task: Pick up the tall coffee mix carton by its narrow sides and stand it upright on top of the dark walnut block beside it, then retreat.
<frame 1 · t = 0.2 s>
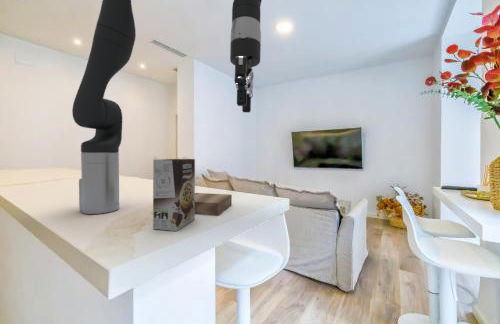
hand: (244, 109, 56), 29 cm above the table, fingers open, 8 cm apart
coffee box: (175, 225, 54), on the table
walnut block: (205, 209, 70), on the table
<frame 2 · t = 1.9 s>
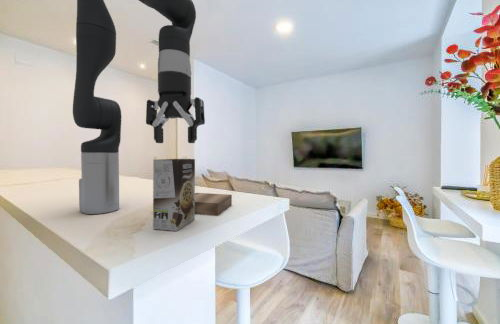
hand: (175, 143, 53), 20 cm above the table, fingers open, 8 cm apart
nothing on the table moved.
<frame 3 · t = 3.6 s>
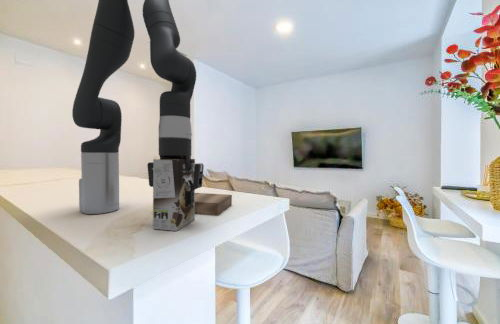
hand: (175, 205, 54), 5 cm above the table, fingers closed on coffee box, 6 cm apart
coffee box: (175, 225, 54), on the table, touching gripper
everything else where it was.
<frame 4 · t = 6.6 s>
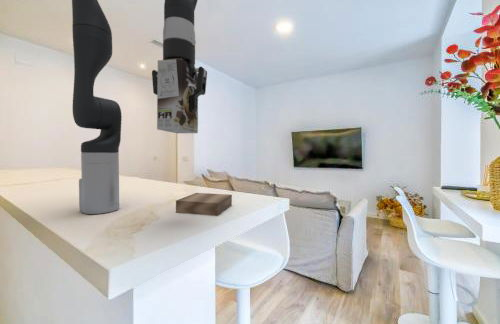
hand: (179, 112, 55), 28 cm above the table, fingers closed on coffee box, 6 cm apart
coffee box: (178, 132, 55), point 23 cm above the table, touching gripper
everything else where it was.
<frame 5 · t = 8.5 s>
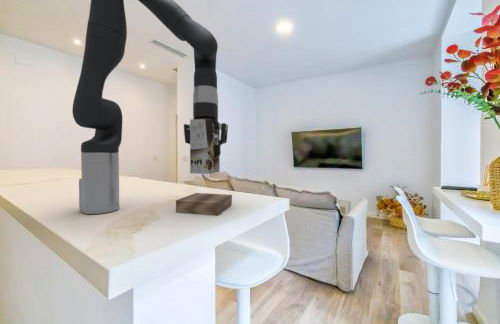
hand: (205, 157, 69), 16 cm above the table, fingers closed on coffee box, 6 cm apart
coffee box: (205, 173, 69), point 11 cm above the table, touching gripper
everything else where it was.
when the fingers open (10 cm above the table, at t = 9.9 s): coffee box drops 2 cm, resting on walnut block.
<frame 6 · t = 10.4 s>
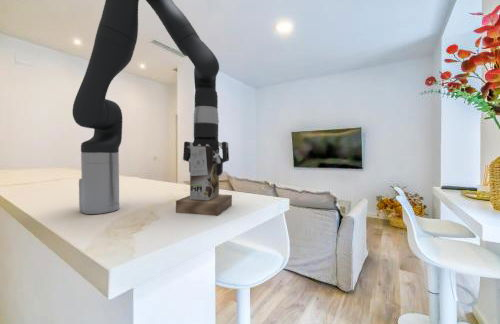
hand: (205, 175, 69), 11 cm above the table, fingers open, 8 cm apart
coffee box: (205, 198, 70), point 3 cm above the table, touching walnut block
walnut block: (205, 210, 70), on the table, touching coffee box
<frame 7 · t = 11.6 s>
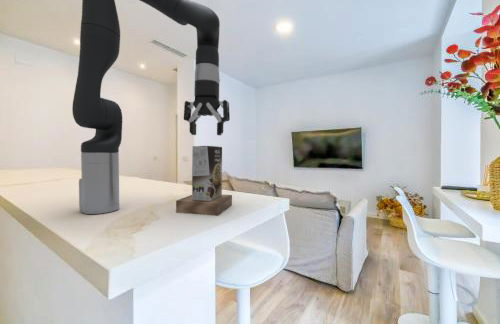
hand: (206, 135, 69), 23 cm above the table, fingers open, 8 cm apart
coffee box: (207, 198, 69), point 3 cm above the table
walnut block: (205, 210, 70), on the table
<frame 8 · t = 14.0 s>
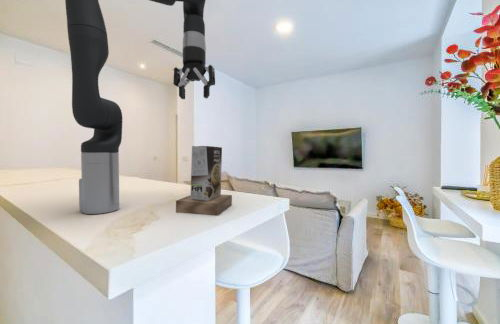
hand: (194, 98, 76), 36 cm above the table, fingers open, 8 cm apart
at the end: coffee box inside the target area on the walnut block (0.3 cm from its centre), point 3.8 cm above the walnut block's base; coffee box tilted 1°; the gripper is holding nothing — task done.
